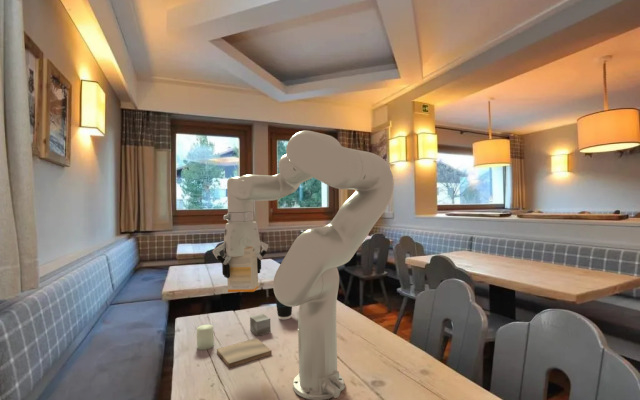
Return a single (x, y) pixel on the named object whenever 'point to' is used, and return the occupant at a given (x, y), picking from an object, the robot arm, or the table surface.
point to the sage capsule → (205, 337)
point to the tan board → (243, 352)
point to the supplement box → (243, 272)
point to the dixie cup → (283, 310)
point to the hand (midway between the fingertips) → (242, 274)
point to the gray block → (260, 324)
